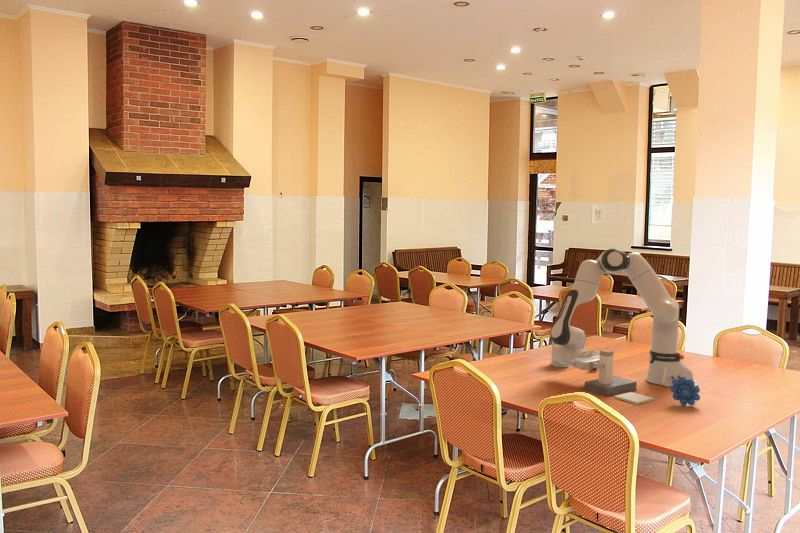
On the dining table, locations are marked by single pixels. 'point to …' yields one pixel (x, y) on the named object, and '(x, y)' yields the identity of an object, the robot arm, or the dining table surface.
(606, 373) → the cream plug
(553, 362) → the supplement box
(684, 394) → the grapes
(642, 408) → the dining table surface
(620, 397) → the sage pad
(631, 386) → the block
